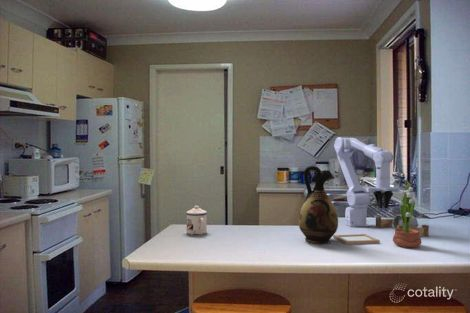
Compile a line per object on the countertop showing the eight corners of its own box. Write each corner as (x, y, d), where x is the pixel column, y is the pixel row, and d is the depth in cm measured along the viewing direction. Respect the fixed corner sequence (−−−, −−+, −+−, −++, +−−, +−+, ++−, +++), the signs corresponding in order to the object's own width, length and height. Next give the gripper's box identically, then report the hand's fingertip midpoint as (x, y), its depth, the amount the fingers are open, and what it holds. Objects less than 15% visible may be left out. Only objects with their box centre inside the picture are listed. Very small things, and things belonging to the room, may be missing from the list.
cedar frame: (399, 236, 161) (399, 225, 160) (375, 226, 182) (375, 217, 182) (428, 236, 162) (428, 225, 162) (401, 226, 183) (401, 216, 183)
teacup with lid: (183, 231, 168) (183, 205, 168) (202, 229, 173) (202, 203, 172) (192, 237, 158) (193, 209, 158) (213, 235, 162) (213, 207, 162)
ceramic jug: (342, 239, 155) (343, 165, 154) (331, 247, 142) (332, 167, 141) (302, 234, 164) (303, 164, 163) (288, 242, 150) (289, 165, 150)
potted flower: (426, 251, 138) (427, 181, 137) (396, 249, 140) (397, 181, 139) (417, 243, 150) (418, 179, 149) (390, 241, 152) (391, 178, 151)
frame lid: (346, 244, 146) (346, 241, 146) (333, 238, 157) (333, 235, 157) (379, 243, 149) (379, 240, 149) (364, 236, 160) (364, 233, 160)
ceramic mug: (419, 232, 169) (419, 215, 169) (404, 233, 166) (404, 216, 166) (401, 228, 179) (401, 211, 179) (387, 229, 176) (387, 212, 176)
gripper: (371, 178, 166) (371, 209, 166) (403, 178, 167) (403, 209, 167) (364, 177, 173) (364, 207, 173) (395, 177, 174) (395, 206, 174)
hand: (383, 208), depth 171 cm, fingers closed
